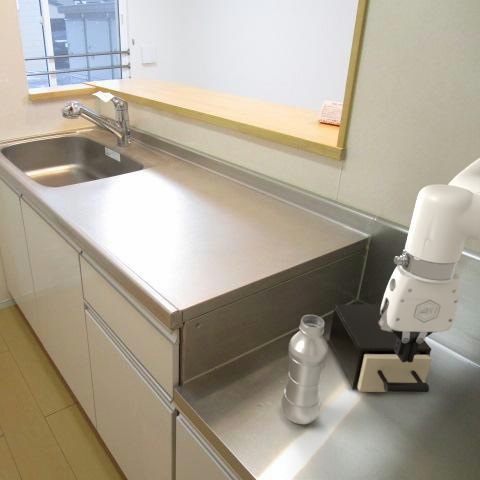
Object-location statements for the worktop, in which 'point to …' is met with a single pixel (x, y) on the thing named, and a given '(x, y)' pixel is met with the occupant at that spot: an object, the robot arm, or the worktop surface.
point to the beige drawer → (393, 373)
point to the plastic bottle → (305, 371)
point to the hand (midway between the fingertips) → (403, 357)
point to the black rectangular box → (360, 337)
